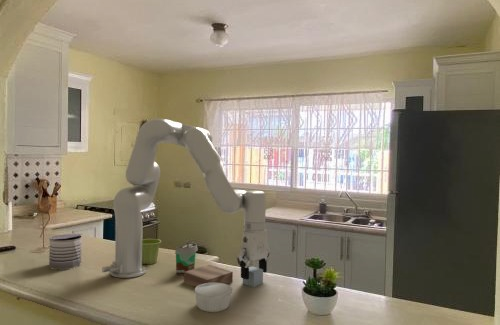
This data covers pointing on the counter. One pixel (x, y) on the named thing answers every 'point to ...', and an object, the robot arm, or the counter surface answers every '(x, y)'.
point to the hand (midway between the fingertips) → (253, 275)
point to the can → (65, 251)
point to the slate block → (254, 277)
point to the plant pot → (150, 250)
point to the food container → (185, 257)
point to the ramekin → (213, 296)
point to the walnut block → (207, 275)
